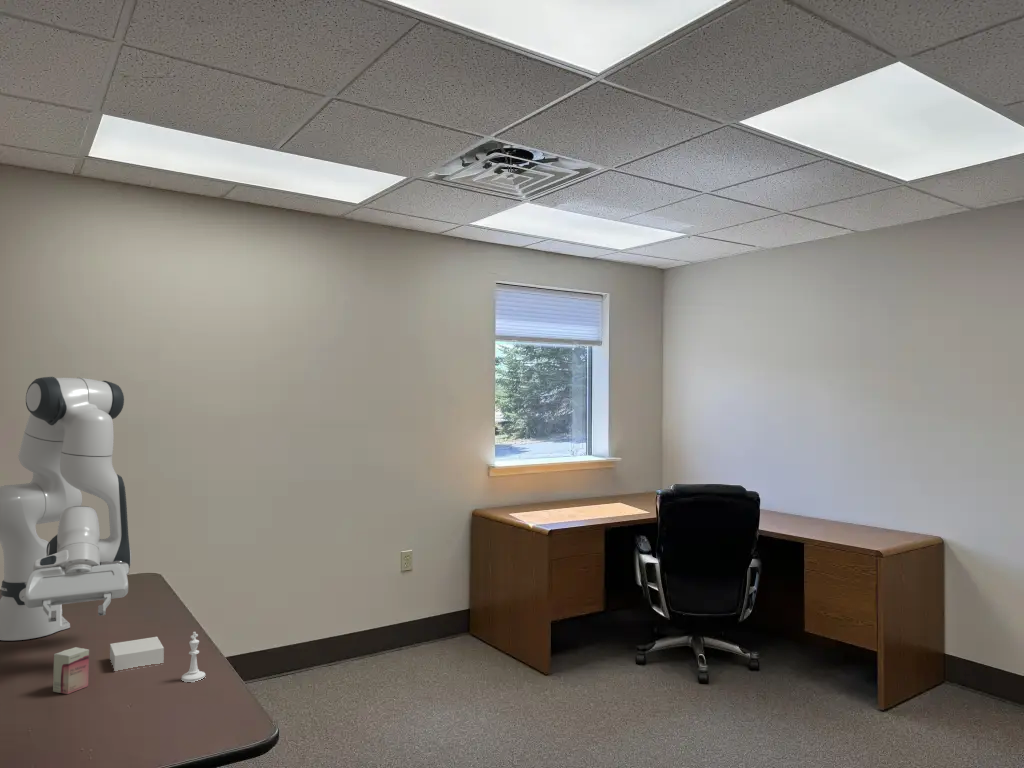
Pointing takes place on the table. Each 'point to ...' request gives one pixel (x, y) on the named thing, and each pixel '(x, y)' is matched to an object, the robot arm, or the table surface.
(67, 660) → the small box
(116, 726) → the table surface
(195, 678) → the chess piece
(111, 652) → the off-white block
